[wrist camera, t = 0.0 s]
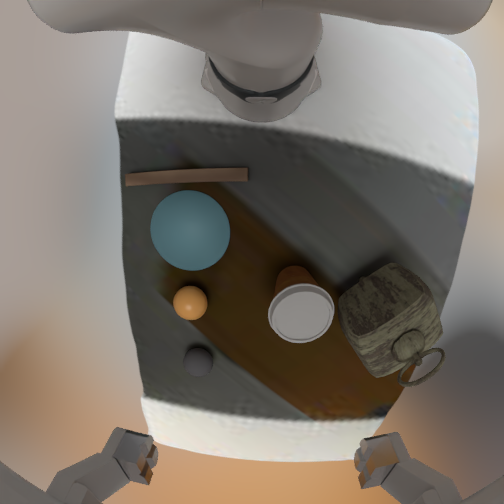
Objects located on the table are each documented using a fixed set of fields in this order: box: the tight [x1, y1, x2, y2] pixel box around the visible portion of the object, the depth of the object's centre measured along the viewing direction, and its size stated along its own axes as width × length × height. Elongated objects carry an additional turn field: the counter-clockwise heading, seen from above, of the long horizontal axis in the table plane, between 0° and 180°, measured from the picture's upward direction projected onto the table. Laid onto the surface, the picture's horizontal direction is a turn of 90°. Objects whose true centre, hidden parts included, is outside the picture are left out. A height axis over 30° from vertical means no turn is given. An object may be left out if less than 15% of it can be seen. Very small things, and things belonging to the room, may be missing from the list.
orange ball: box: [173, 286, 207, 320], centre depth 47 cm, size 6×6×6 cm
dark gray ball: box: [183, 348, 213, 377], centre depth 52 cm, size 6×6×6 cm
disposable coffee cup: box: [268, 266, 334, 343], centre depth 43 cm, size 10×10×12 cm
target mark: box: [151, 190, 230, 270], centre depth 46 cm, size 14×14×1 cm
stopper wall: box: [125, 168, 248, 186], centre depth 42 cm, size 2×20×2 cm, turn 90°
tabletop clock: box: [338, 263, 445, 387], centre depth 36 cm, size 14×9×25 cm, turn 126°
